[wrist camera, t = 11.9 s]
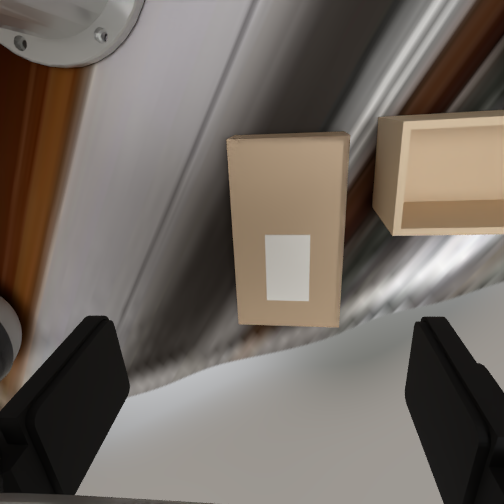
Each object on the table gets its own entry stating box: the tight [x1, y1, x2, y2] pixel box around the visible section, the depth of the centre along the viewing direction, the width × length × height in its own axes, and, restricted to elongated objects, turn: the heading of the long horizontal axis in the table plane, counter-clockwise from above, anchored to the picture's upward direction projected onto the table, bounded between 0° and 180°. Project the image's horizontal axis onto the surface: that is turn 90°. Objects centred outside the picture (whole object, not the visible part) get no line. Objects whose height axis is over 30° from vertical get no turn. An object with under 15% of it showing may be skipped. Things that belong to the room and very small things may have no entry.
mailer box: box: [372, 110, 504, 236], centre depth 21 cm, size 12×6×6 cm, turn 93°
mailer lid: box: [226, 131, 350, 327], centre depth 25 cm, size 13×7×3 cm, turn 2°
